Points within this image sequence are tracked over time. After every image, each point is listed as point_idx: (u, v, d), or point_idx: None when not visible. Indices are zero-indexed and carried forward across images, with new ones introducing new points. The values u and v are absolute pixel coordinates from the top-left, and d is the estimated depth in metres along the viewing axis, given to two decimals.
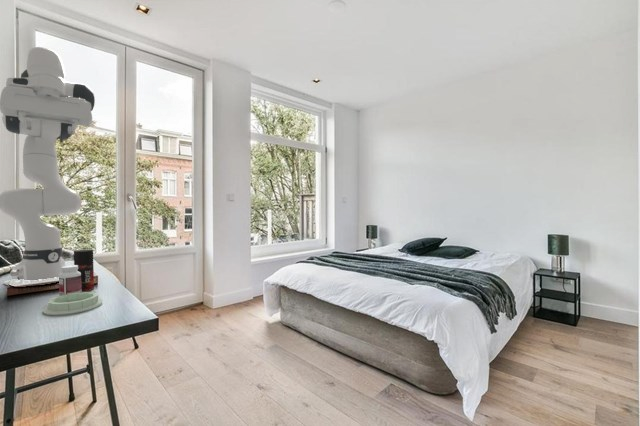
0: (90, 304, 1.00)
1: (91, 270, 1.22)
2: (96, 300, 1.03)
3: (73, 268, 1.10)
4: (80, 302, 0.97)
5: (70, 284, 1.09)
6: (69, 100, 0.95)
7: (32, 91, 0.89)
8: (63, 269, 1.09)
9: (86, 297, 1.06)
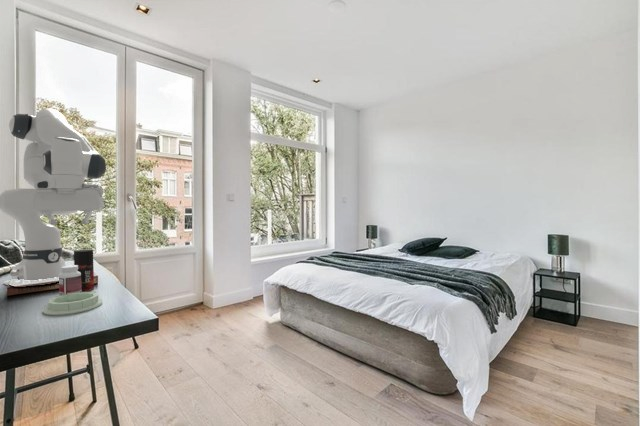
0: (90, 304, 1.00)
1: (91, 270, 1.22)
2: (96, 300, 1.03)
3: (73, 268, 1.10)
4: (80, 302, 0.97)
5: (70, 284, 1.09)
6: (82, 192, 1.09)
7: (52, 191, 1.07)
8: (63, 269, 1.09)
9: (86, 297, 1.06)
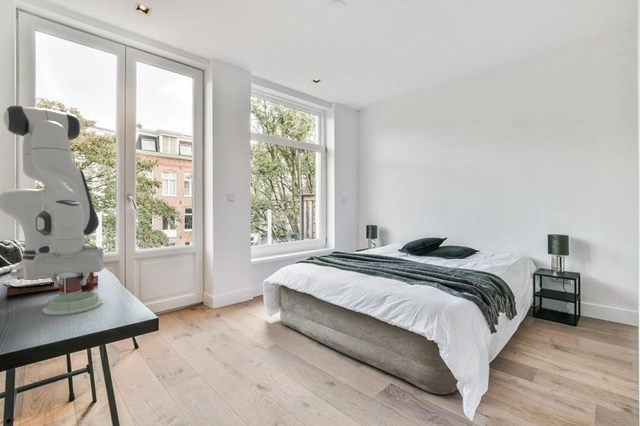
0: (90, 304, 1.00)
1: None
2: (96, 300, 1.03)
3: None
4: (80, 302, 0.97)
5: (70, 284, 1.09)
6: (82, 255, 1.11)
7: (53, 255, 1.08)
8: (63, 268, 1.09)
9: (86, 297, 1.06)
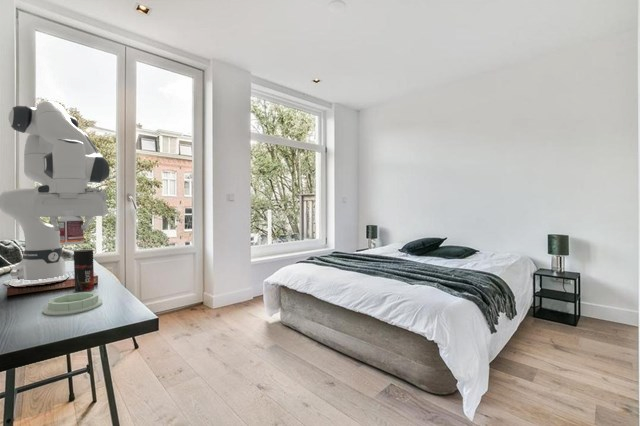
0: (90, 304, 1.00)
1: (91, 270, 1.22)
2: (96, 300, 1.03)
3: None
4: (80, 302, 0.97)
5: (71, 228, 1.02)
6: (85, 197, 1.04)
7: (54, 196, 1.01)
8: (64, 211, 1.02)
9: (86, 297, 1.06)
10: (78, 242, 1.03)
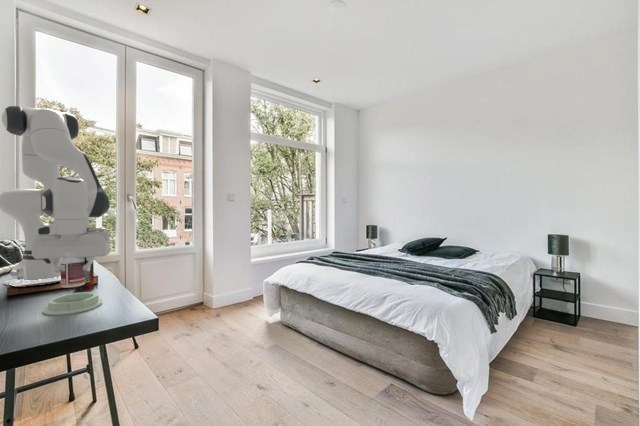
0: (90, 304, 1.00)
1: (91, 270, 1.22)
2: (96, 300, 1.03)
3: None
4: (80, 302, 0.97)
5: (72, 270, 0.98)
6: (86, 238, 1.00)
7: (54, 238, 0.97)
8: (65, 253, 0.98)
9: (86, 297, 1.06)
10: (79, 284, 1.00)
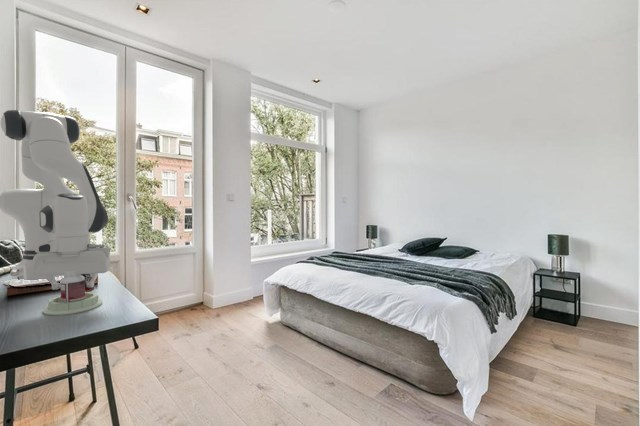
0: (90, 304, 1.00)
1: None
2: (96, 300, 1.03)
3: None
4: (80, 302, 0.97)
5: (72, 290, 0.99)
6: (87, 254, 1.00)
7: (55, 255, 0.97)
8: (65, 273, 0.99)
9: (86, 297, 1.06)
10: None
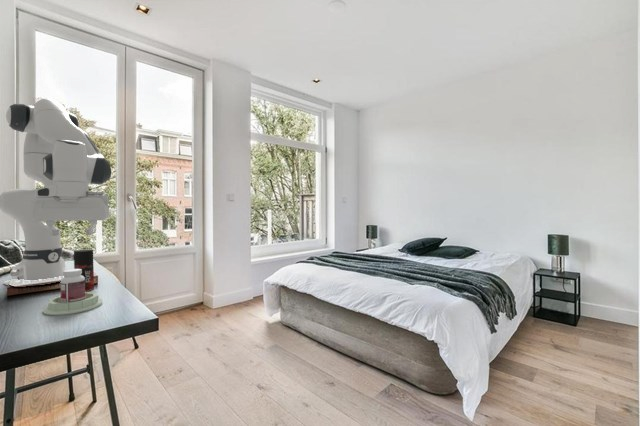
0: (90, 304, 1.00)
1: (91, 270, 1.22)
2: (96, 300, 1.03)
3: (76, 272, 1.00)
4: (80, 302, 0.97)
5: (72, 290, 0.99)
6: (86, 201, 1.00)
7: (54, 200, 0.97)
8: (65, 273, 0.99)
9: (86, 297, 1.06)
10: None
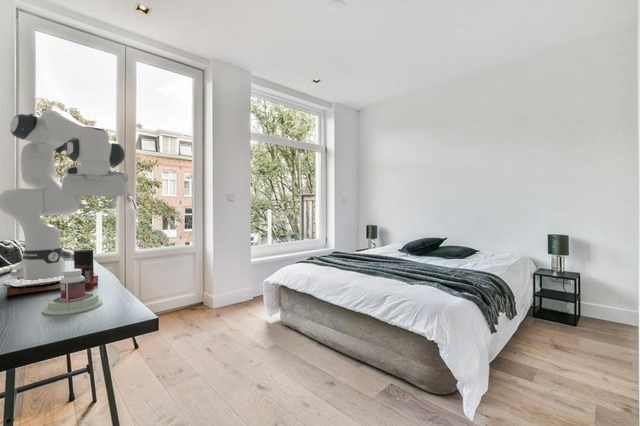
0: (90, 304, 1.00)
1: (91, 270, 1.22)
2: (96, 300, 1.03)
3: (76, 272, 1.00)
4: (80, 302, 0.97)
5: (72, 290, 0.99)
6: (108, 179, 1.15)
7: (81, 177, 1.12)
8: (65, 273, 0.99)
9: (86, 297, 1.06)
10: None
